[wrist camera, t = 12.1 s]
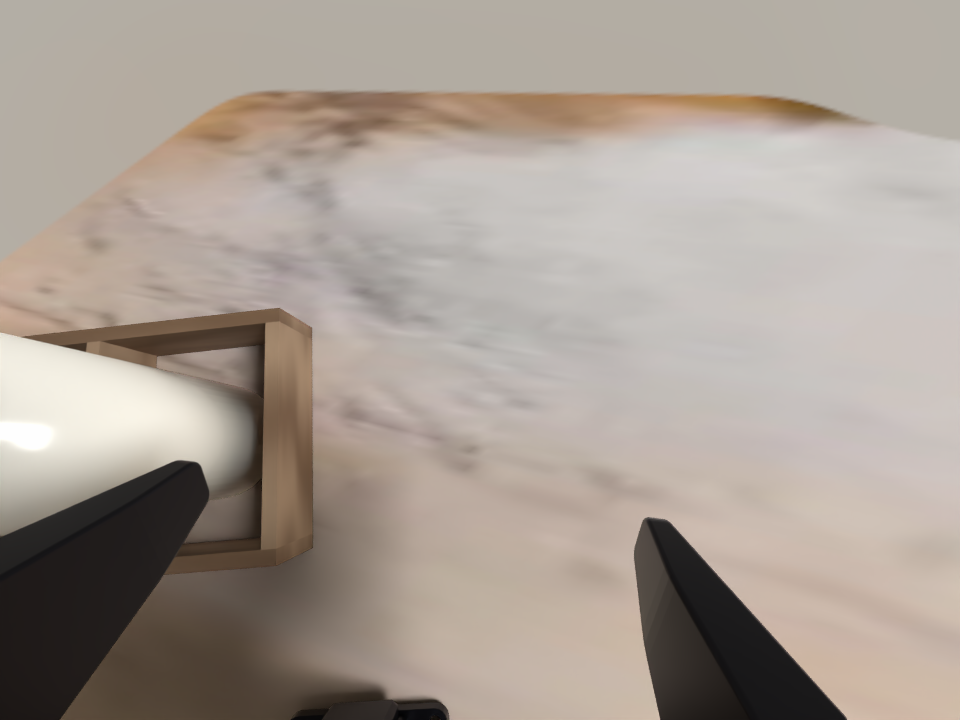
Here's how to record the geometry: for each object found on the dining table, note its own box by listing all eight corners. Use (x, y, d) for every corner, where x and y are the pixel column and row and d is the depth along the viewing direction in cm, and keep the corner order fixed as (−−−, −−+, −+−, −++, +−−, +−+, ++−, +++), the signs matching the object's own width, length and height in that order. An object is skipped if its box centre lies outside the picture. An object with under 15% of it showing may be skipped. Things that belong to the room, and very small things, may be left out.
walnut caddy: (313, 547, 19) (275, 565, 16) (-67, 578, 20) (-168, 600, 17) (311, 327, 21) (279, 307, 18) (-30, 365, 22) (-114, 351, 19)
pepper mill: (300, 437, 20) (-76, 414, 7) (219, 523, 19) (-345, 664, 7) (231, 365, 21) (-206, 234, 8) (151, 445, 20) (-450, 437, 8)
